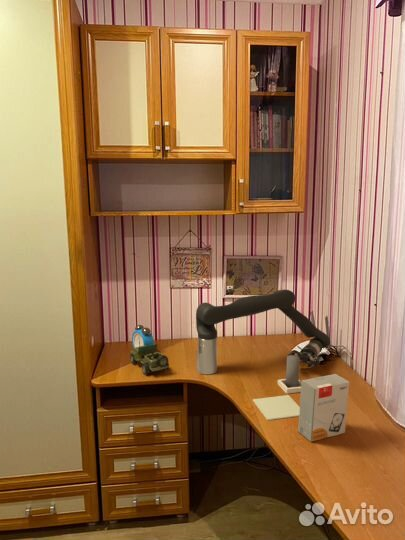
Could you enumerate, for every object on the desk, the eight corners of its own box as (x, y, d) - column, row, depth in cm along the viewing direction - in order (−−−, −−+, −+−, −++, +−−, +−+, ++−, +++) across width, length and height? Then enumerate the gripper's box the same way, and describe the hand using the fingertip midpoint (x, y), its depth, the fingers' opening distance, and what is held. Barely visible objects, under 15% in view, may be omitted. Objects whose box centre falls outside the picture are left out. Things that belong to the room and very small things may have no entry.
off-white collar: (286, 393, 180) (286, 389, 179) (277, 383, 189) (277, 379, 188) (306, 391, 182) (307, 386, 181) (297, 381, 191) (297, 377, 191)
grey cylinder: (288, 391, 182) (290, 360, 179) (283, 385, 187) (284, 355, 185) (300, 389, 183) (301, 359, 181) (294, 384, 189) (296, 354, 186)
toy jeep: (150, 356, 221) (150, 336, 219) (172, 374, 200) (172, 352, 198) (128, 361, 214) (128, 341, 212) (149, 379, 193) (148, 357, 191)
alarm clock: (132, 351, 228) (131, 324, 225) (141, 348, 232) (141, 322, 229) (144, 358, 218) (144, 330, 215) (154, 355, 222) (154, 328, 219)
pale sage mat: (267, 420, 158) (267, 419, 158) (252, 400, 174) (252, 399, 174) (306, 415, 162) (306, 414, 162) (288, 396, 177) (288, 395, 177)
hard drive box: (310, 443, 144) (313, 389, 141) (297, 431, 151) (299, 380, 147) (346, 433, 150) (349, 381, 147) (331, 422, 157) (334, 372, 154)
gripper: (296, 342, 208) (284, 352, 195) (325, 347, 201) (315, 358, 187) (295, 356, 210) (284, 367, 196) (324, 362, 202) (314, 374, 189)
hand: (299, 363), depth 192 cm, fingers open, 8 cm apart
